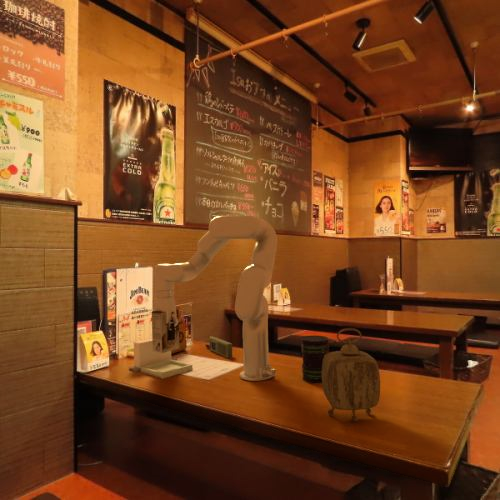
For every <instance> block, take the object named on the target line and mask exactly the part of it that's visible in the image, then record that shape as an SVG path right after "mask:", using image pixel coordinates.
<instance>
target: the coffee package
mask: <svg viewBox="0 0 500 500" xmlns="http://www.w3.org/2000/svg"><path fill="white" fill-rule="evenodd" d="M180 309H181V306H180V305H176V310H178V320H179V349H175V350H172V351H171V355H172V354H176V353H180V352H183V351H186V349H187V347H188V345H187V344H188V343H187V327H186V323H185V321H184V318H183V317H182V315H181V311H180Z"/></svg>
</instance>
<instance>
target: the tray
mask: <svg viewBox="0 0 500 500" xmlns="http://www.w3.org/2000/svg"><path fill="white" fill-rule="evenodd" d="M192 370H193V364H191V363H186V362H184V361H178V360H177V361H175V360H167V361H164V362H160V363H156V364H152V365H148V366H145V367H141V371H140V373H142V374H144V375H149V376H152V377H155V378H159V379H161V380H163V379H166V378H170V377H172V376H176V375H179V374H183V373H185V372H189V371H192Z"/></svg>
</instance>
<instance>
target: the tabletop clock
mask: <svg viewBox="0 0 500 500" xmlns="http://www.w3.org/2000/svg"><path fill="white" fill-rule="evenodd" d="M346 331H347V332H348V331H354V332H356V333H358V335H359V338H357V339H355V340H352V338H351V337H348V338H347V339H346V340H343V339H341V338H340V337H339V335H340V334H342V333H343V332H346ZM362 336H363V335H362V333H361V331H360V330H359V329H357V328H353V327H345V328H342V329H340V330H339V331H338V332H337V334H336V339H337V341H339V342H340V343H343V344H344V345H342V346H341V348H340V350H339V351H338V350H335V351H329V353H328V354H326V355H325V356H324V358H323V363H322V383H321V384H322V390H323V394H324V395H325V396H324V397H325V398H326V400H327V401H328V403H329V404H330V407H331V409H328V411H327V414H328V416H333V415H334V411H335V409H336V410H341V411H351V413H352V415H351V417H350V418H351V421H352V422H353V423H356V422H357V421H358V417H357V416H356V411H359V410H360V411H361V410H364V411H365V414H367V415H370V414H371V413H372V410H371V409H372V408H374V407H377V405H378V404H379V400H380V396H381V377H380V376H381V375H380V368H379V364H378V362H377V360H376V358H374V357H373V356H371V355H370V354H369V353H367V352H365V351H363V350H362V351H361V350H360V349H359V348H358V347H357V346H356V345H355V344H354V343H359V341H360V340H361V339H362Z"/></svg>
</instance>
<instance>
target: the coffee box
mask: <svg viewBox="0 0 500 500" xmlns="http://www.w3.org/2000/svg"><path fill="white" fill-rule="evenodd" d="M176 317H177V319H178V310H176ZM170 322H172V320H170ZM171 325H172V324H170V326H171ZM168 330H169V329H168V323H167V324H165V312H161V311H153V310H152V311H151V335H152V338H151V339H152V342H153V351H155V352H159V353H165V352H168V351H172V350H175V349H179V322H178V324H177V326H176V329H175V339H174V340H168Z"/></svg>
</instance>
